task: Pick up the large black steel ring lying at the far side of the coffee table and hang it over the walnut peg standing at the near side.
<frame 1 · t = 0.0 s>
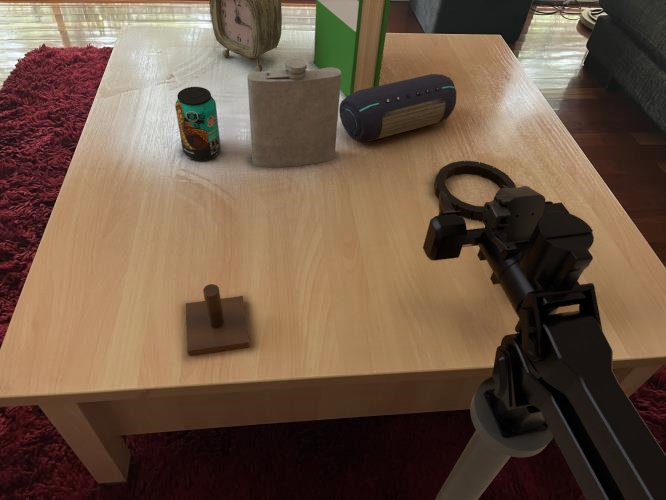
hand: (471, 190, 74), 15 cm above the table, tool horizontal, fingers open, 9 cm apart
ring: (473, 193, 97), on the table
hardback book: (344, 77, 124), on the table
post: (217, 327, 73), on the table
beverage can: (202, 152, 100), on the table
hip flask: (294, 160, 100), on the table
tabletop clock: (250, 61, 126), on the table
portable speaker: (396, 129, 110), on the table
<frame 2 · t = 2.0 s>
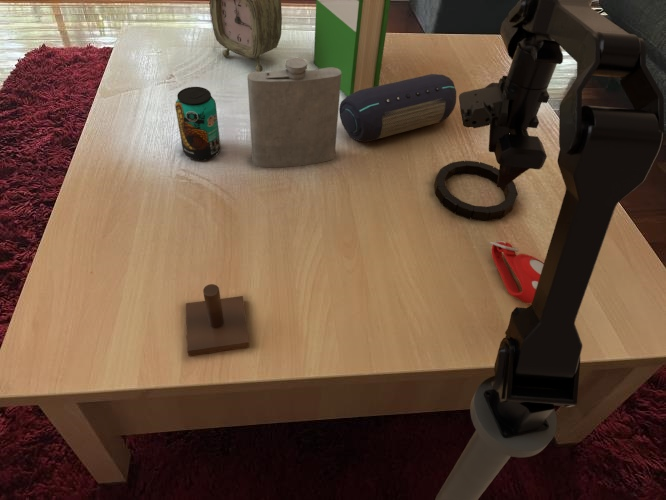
hand: (495, 168, 84), 11 cm above the table, tool pointing down, fingers open, 9 cm apart
nothing on the table moved.
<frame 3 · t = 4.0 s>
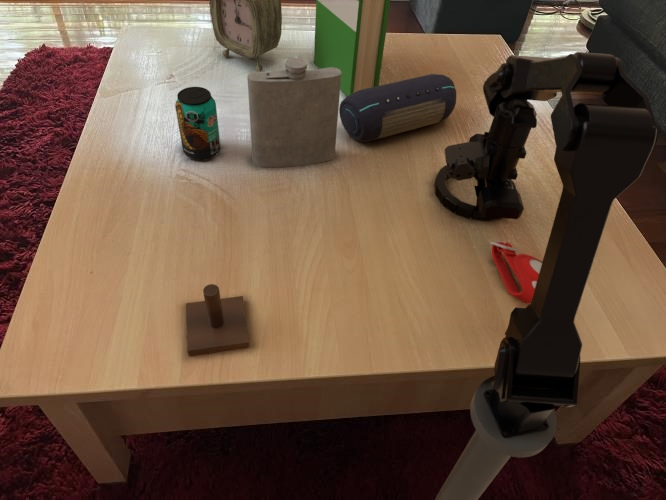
hand: (479, 212, 91), 1 cm above the table, tool pointing down, fingers closed on ring, 2 cm apart
ring: (473, 193, 97), on the table, touching gripper
everything else where it was.
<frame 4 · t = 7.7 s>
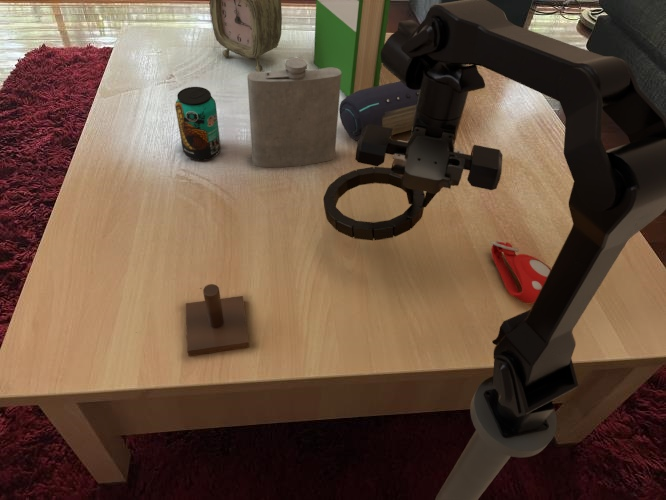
hand: (417, 203, 76), 12 cm above the table, tool pointing down, fingers closed on ring
ring: (374, 206, 78), point 10 cm above the table, tilted 9°, touching gripper
everything else where it was.
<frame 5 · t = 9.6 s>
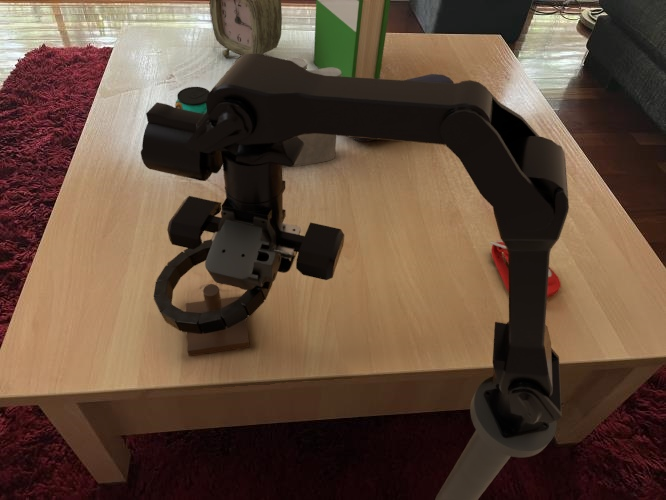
hand: (259, 284, 64), 11 cm above the table, tool pointing down, fingers closed on ring
ring: (216, 287, 67), point 9 cm above the table, tilted 13°, touching gripper
everything else where it was.
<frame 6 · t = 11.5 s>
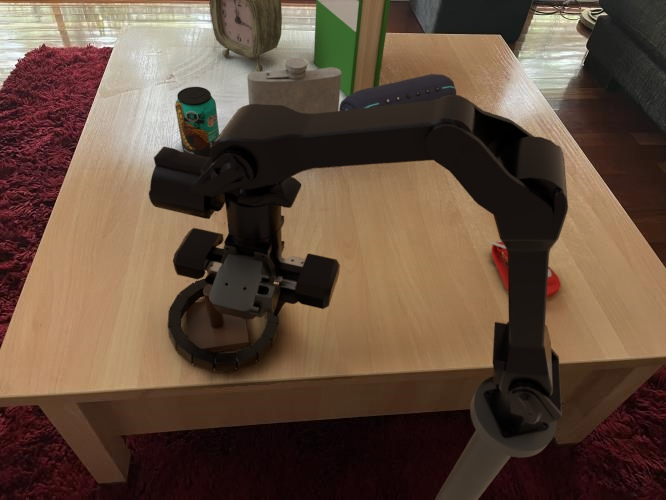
hand: (260, 309, 68), 6 cm above the table, tool pointing down, fingers open, 4 cm apart
ring: (224, 324, 72), point 1 cm above the table, tilted 6°, touching post
everything else where it was.
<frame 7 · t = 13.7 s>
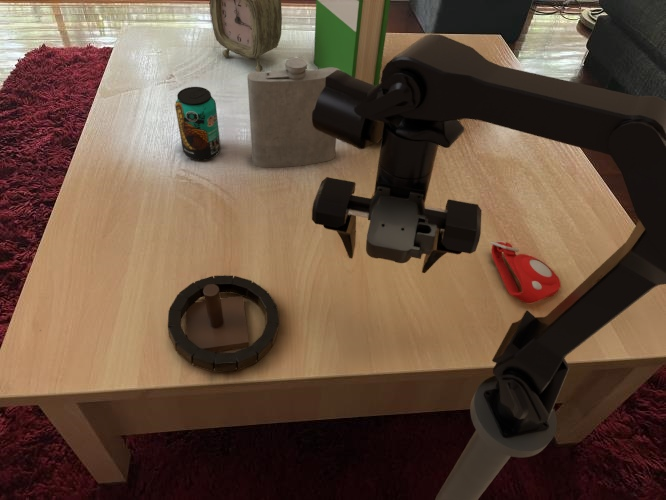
hand: (387, 263, 66), 13 cm above the table, tool pointing down, fingers open, 9 cm apart
nothing on the table moved.
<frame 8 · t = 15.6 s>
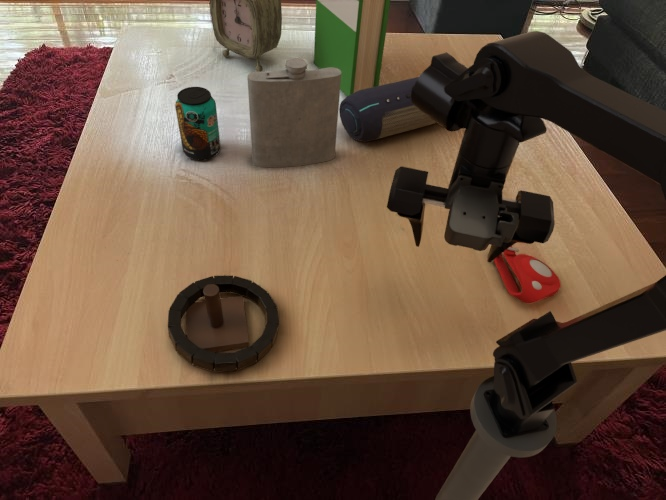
hand: (453, 252, 68), 13 cm above the table, tool pointing down, fingers open, 9 cm apart
nothing on the table moved.
at the end: ring inside the target area on the post (1.0 cm from its centre), point 0.8 cm above the post's base; the gripper is holding nothing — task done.
